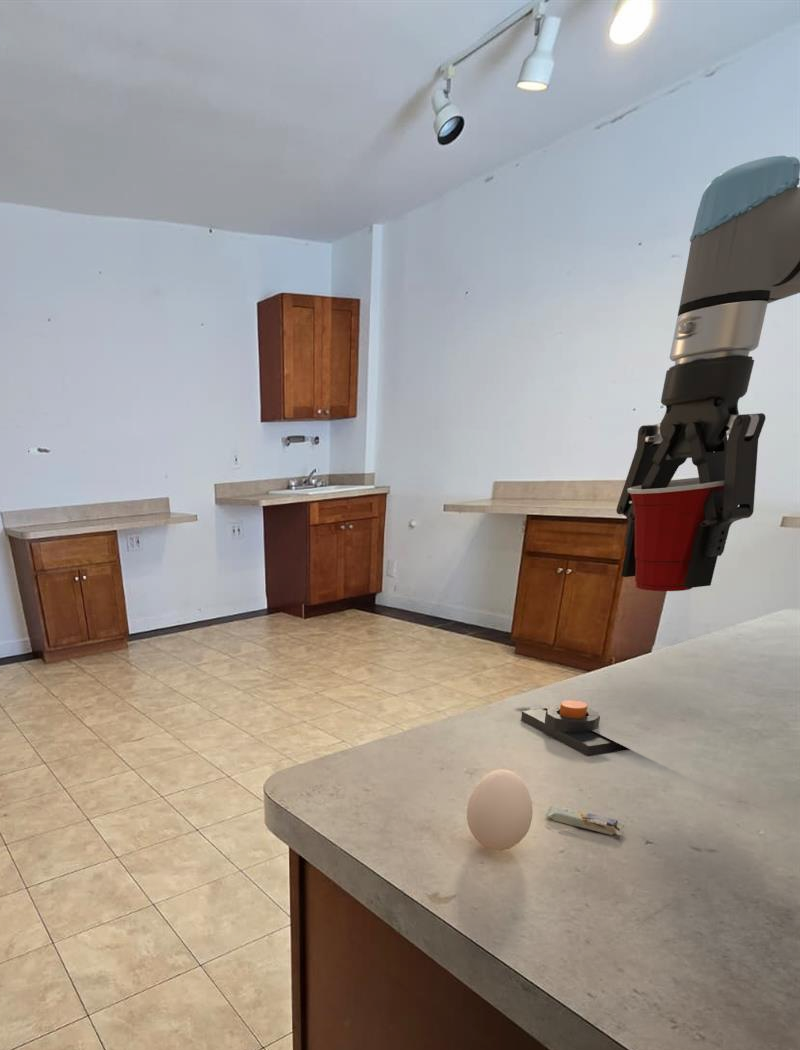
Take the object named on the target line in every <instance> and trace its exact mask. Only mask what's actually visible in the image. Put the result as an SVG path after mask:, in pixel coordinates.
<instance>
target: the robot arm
mask: <svg viewBox="0 0 800 1050" xmlns="http://www.w3.org/2000/svg"><path fill="white" fill-rule="evenodd" d="M799 184H800V159H799V158H798V157H795V156H787V155H774V156H767V157H763V158H758V159H755V160H751V161H748V162H745V163H742V164H739V165H736V166H734V167H732V168H729V169H727V170H725V171H723V172H721V174H719V175H717V176H716V177H715V178H713V179H712V180H711V181H710V182H709V183H708V184H707V186H706V187H705V188H704V190H703V192H702V195H701V198H700V202H699V206H698V208H697V212H696V216H695V220H694V225H693V228H692V232H691V235H690V237H689V243H690V245H689V252H688V257H687V261H686V262H687V263H686V268H685V274H684V280H683V285H682V291H681V295H680V302H679V307H678V311H677V317H676V322H675V328H674V333H673V337H672V343H671V348H670V354H669V359H670V361H671V362H674V365H672V366H669V368H668V370H666V372H665V376H664V377H665V378H664V383H663V388H662V394H661V398H660V403H661V405H663V406H665V407H666V409H665V413H664V415H663V418H662V419H661V420H660V422H659V423H656V424H645V425H641V426H640V427H639V428H638V431H637V440H636V449H635V452H634V454H633V458H632V461H631V463H630V467H629V470H628V472H627V475H626V479H625V482H624V485H623V488H622V491H621V493H620V497H619V500H618V503H617V505H616V514H617V515H622V516H624V517H626V520H627V521H628V523H627V527H626V528H627V529H626V534H625V538H624V548H625V552H624V553H625V554H624V559H623V564H622V571H621V573H620V574H621V575H620V577H623V578H629V577H630V578H631V577H635V569H636V559H635V514H634V508H633V504H632V498H631V495H630V493H628V490H627V489H628V488H631V487H635V486H640V485H642V486H641V489H658V488H667V486H668V484H669V483H670V481H672V479H673V477H674V475H676V472H677V471H678V468H679V467H680V466H682V465H684V464H685V462H686V461H687V459H691V461H692V464H693V465H694V466H696V468H697V469H696V470H697V475H698V476H697V477H699V482H700V484H704V483H711V482H717V481H724V480H725V481H724V489H723V490H716V489H714V488H711V491H710V492H709V494H708V496H707V499H706V502H705V503H704V505H703V506H704V512H705V518H706V520H705V521H702V522H700V524H701V525H702V526H698V527H697V532H696V536H695V541H694V545H693V549H692V554H691V558H690V563H689V567H688V571H687V576H686V580H685V584H684V587H687V588H691V589H693V588H701V587H710V586H711V585H712V582H713V577H714V572H715V568H716V565H717V561H718V557H720V556H722V555H723V553H724V552H725V551H724V550H725V547H726V543H727V540H728V536H729V531H730V528H731V526H732V524H733V523H734V522H738V521H740V520H743V519H748V518H751V516H752V515H753V514H754V511H755V493H756V479H757V465H758V449H759V438H760V436H761V433H762V430H763V428H764V425H765V422H766V415H765V413H763V412H759V413H747V414H746V413H744V414H740V412H739V407H738V405H739V400H740V399H741V398H743V397H744V396H746V394H747V393H748V389H749V385H750V381H751V376H752V372H753V369H754V364H755V359H753V358H754V357H753V356H750V355H749V354H750V353H751V352H752V351H755V350H756V349H757V348H758V347H759V344H760V339H761V335H762V331H763V325H764V321H765V316H766V312H767V307H768V304H771V303H773V302H777V301H779V300H783V299H785V298H789V297H791V296H795V295H797V294H800V186H798V185H799ZM719 510H720V512H719Z"/></svg>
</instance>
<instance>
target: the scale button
mask: <svg viewBox="0 0 800 1050" xmlns="http://www.w3.org/2000/svg"><path fill="white" fill-rule="evenodd" d="M559 706H560V712H559V715H561V716H563V717H568V718H585V717H586V713H587V708H589V706H588V704H587V703H586V702H584V701H580V700H564V701H561V702H560V705H559Z"/></svg>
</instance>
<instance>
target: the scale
mask: <svg viewBox="0 0 800 1050" xmlns="http://www.w3.org/2000/svg"><path fill="white" fill-rule="evenodd" d="M560 706H561V705H555V706H551V707H549V708H546V707H544V708H537V709H530V710H522V711H521V716H520V717H521V718H520V721H521V722H523V723H525V724H527V725H528V726H531V727H532V728H534V729H536V730H537V731H540V732H542V733H543V734H545V735H547V736H549V737H550V738H552V739H554V740H556V741H558V742H560V743H561V744H564V745H565V746H567V747H569V748H570V749H572V750H574V751H577V752H578V753H580V754H582V755H584V756H586V757H593V756H599V755H606V754H612V753H617V752H619V753H620V752H624V751H631V750H632V749H631V748H629V747H627V746H624V745H623V744H620V743H619V742H616V741H614V740H612V739H611V738H608V737H606V736H604V735H603V734H600V733H598V732H596V731H595V730H596V729H597V728H598V727H599V724H600V720H601V715H600V713H599V712H598V711H596V710H594V709H592V708H589V707H587V713H586V717H585V718H568V717H563V716H561V715H559V712H560Z"/></svg>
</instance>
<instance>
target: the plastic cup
mask: <svg viewBox="0 0 800 1050" xmlns="http://www.w3.org/2000/svg"><path fill="white" fill-rule="evenodd" d="M724 481H725V480H724ZM724 481H717V482H711V483H704V484H700V482H699V476H697V477H690V478H680V479H673V480H672V479H671V481H670V483H669V484H668V486H667V488H658V489H641V486H642V485H640V486H635V487H631V488H628V489H627V490H628V493H630V495H631V498H632V501H631V503H632V504H633V508H634V514H635V559H636V569H635V576H634V580H635V587H636V588H637V589H640V590H645V591H651V592H652V591H653V592H683V591H688V590H691V589H692V588H687V587H684V584H685V580H686V576H687V571H688V567H689V563H690V558H691V554H692V549H693V545H694V541H695V536H696V532H697V527H698V526H702V525H701V524H700V522H702V521H705V520H706V518H705V512H704V506H703V505H704V503H705V502H706V499H707V496H708V494H709V492H710V491H711V488H714V489H716V490H723V489H724ZM719 512H720V510H719Z"/></svg>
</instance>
